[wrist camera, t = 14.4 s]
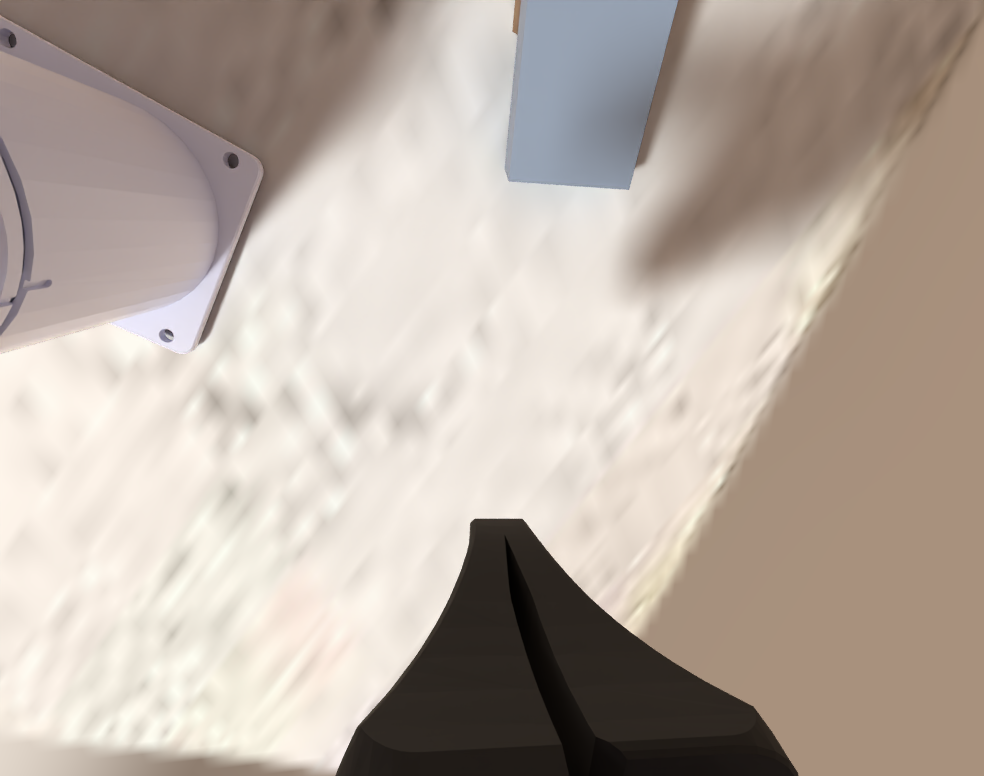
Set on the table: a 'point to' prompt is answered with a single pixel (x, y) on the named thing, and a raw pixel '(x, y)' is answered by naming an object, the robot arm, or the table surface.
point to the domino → (584, 89)
